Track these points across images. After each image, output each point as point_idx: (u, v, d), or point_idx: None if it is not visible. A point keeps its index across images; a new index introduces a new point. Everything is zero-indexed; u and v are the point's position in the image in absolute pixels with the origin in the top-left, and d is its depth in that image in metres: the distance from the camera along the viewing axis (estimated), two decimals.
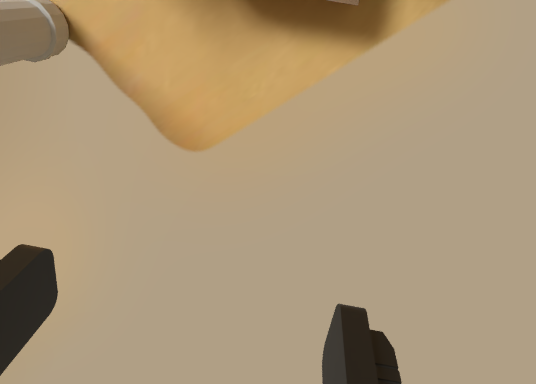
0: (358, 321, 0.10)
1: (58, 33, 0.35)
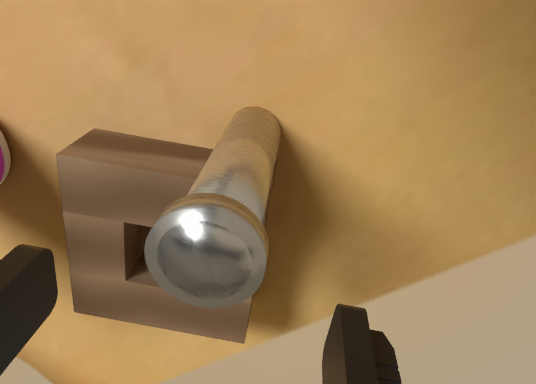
0: (358, 321, 0.10)
1: None
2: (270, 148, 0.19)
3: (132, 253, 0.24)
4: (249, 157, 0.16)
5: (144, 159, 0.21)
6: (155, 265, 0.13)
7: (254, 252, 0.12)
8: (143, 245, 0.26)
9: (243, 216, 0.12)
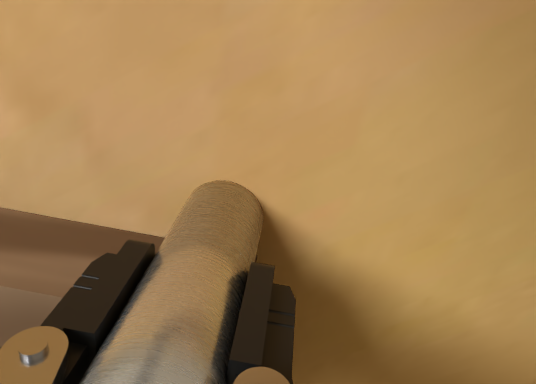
0: (264, 275, 0.11)
1: None
2: (239, 272, 0.11)
3: None
4: (191, 322, 0.09)
5: (46, 267, 0.14)
6: None
7: None
8: None
9: None
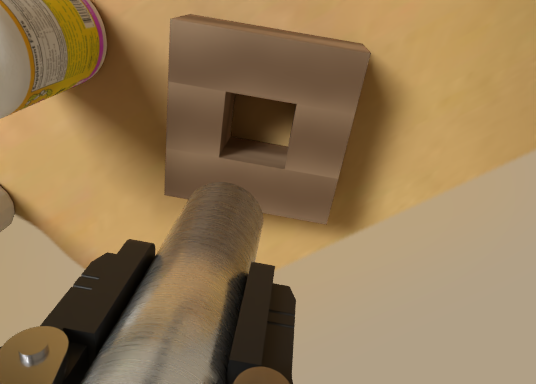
0: (264, 275, 0.11)
1: None
2: (239, 273, 0.11)
3: (224, 133, 0.26)
4: (191, 324, 0.09)
5: (247, 29, 0.23)
6: None
7: None
8: (228, 134, 0.28)
9: None
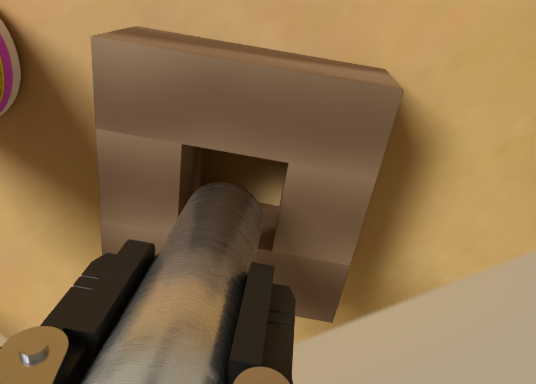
0: (264, 275, 0.11)
1: None
2: (239, 273, 0.11)
3: (185, 197, 0.18)
4: (191, 324, 0.09)
5: (214, 51, 0.15)
6: None
7: None
8: None
9: None
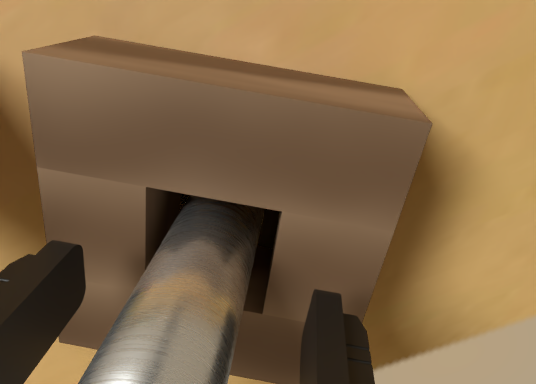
0: (332, 305, 0.10)
1: None
2: (246, 242, 0.12)
3: (156, 246, 0.15)
4: (206, 279, 0.10)
5: (185, 70, 0.12)
6: None
7: None
8: None
9: None
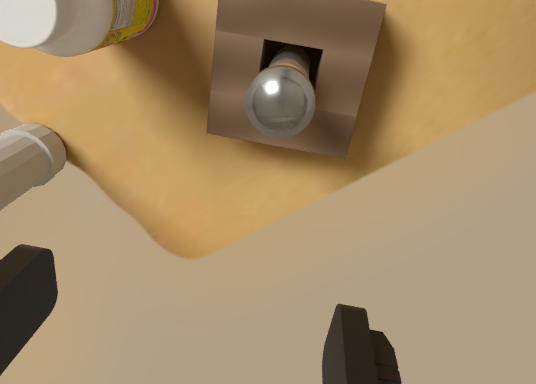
0: (358, 321, 0.10)
1: (56, 162, 0.36)
2: (306, 65, 0.28)
3: None
4: (297, 62, 0.26)
5: None
6: (250, 108, 0.22)
7: (309, 96, 0.21)
8: None
9: (303, 75, 0.21)
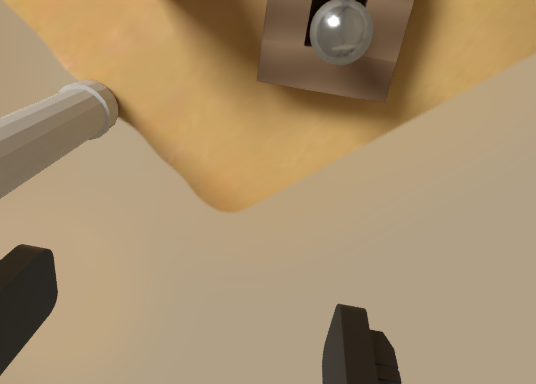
0: (358, 321, 0.10)
1: (111, 115, 0.39)
2: None
3: None
4: None
5: None
6: (314, 37, 0.25)
7: (368, 24, 0.24)
8: None
9: (363, 6, 0.24)
